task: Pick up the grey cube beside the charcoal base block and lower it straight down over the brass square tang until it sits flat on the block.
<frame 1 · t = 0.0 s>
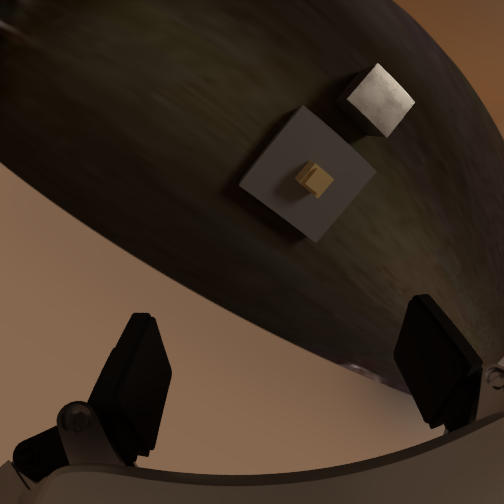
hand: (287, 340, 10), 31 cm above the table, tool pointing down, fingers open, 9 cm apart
grey cube: (364, 102, 33), on the table
tang block: (306, 172, 38), on the table
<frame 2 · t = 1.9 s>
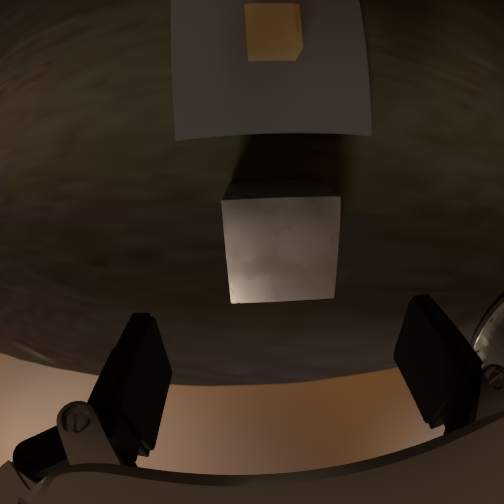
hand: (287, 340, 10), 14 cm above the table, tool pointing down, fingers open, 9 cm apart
grey cube: (276, 222, 23), on the table
tang block: (268, 52, 17), on the table
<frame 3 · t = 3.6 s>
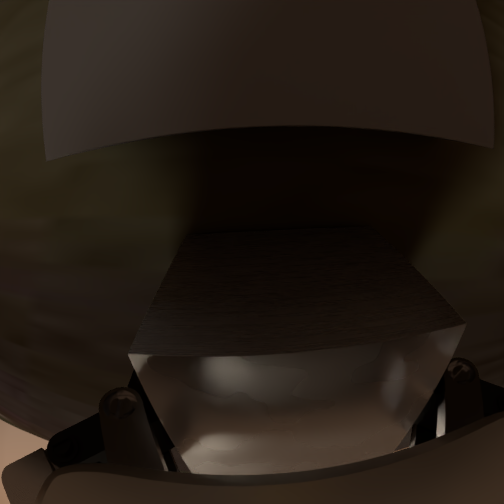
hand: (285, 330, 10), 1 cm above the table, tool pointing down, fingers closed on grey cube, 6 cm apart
grey cube: (282, 309, 11), on the table, touching gripper
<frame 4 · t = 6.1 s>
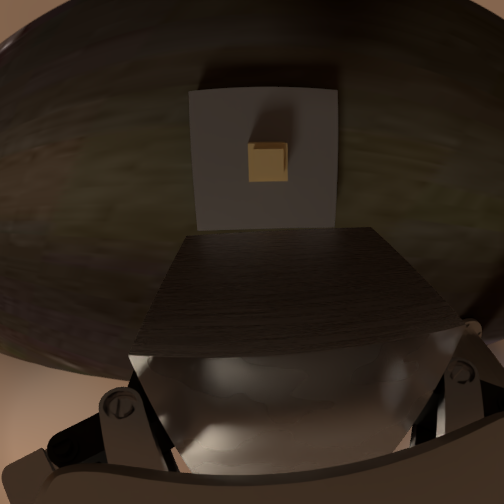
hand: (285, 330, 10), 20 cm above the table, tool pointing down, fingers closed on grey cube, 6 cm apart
grey cube: (282, 309, 11), point 19 cm above the table, touching gripper
tang block: (264, 155, 27), on the table
when the fingers open (6 cm above the table, at t = 8.9 s): grey cube drops 1 cm, resting on tang block.
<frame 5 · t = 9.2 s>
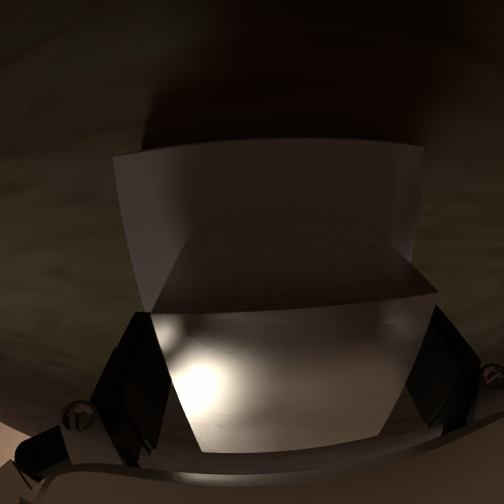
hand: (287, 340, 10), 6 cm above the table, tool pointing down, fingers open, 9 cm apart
grey cube: (280, 292, 13), point 3 cm above the table, touching tang block
tang block: (273, 261, 15), on the table
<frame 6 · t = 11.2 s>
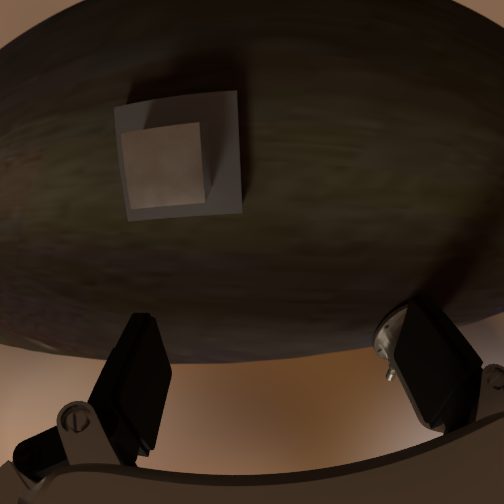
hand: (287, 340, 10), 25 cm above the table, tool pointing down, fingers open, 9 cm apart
grey cube: (176, 158, 28), point 3 cm above the table, touching tang block
tang block: (181, 154, 30), on the table
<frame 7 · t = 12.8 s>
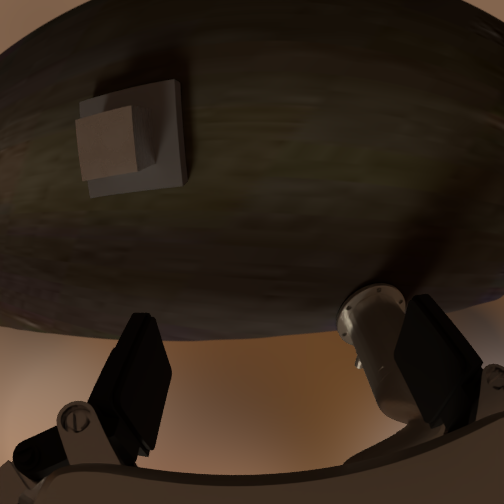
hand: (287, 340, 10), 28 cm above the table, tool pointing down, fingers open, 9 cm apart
grey cube: (127, 140, 30), point 3 cm above the table, touching tang block
tang block: (135, 139, 33), on the table
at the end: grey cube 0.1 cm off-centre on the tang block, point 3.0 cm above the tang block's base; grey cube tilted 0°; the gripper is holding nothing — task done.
